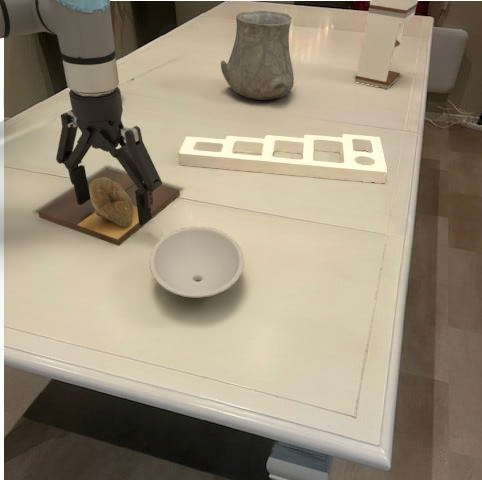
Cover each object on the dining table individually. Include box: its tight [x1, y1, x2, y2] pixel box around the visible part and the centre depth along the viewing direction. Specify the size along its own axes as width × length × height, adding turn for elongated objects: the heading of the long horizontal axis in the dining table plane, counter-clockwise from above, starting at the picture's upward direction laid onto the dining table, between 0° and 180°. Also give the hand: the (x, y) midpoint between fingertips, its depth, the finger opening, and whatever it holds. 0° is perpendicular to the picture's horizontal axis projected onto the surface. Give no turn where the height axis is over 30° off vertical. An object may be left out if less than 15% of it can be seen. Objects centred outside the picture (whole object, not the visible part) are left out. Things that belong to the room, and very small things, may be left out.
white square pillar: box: [354, 0, 419, 90], centre depth 141 cm, size 11×11×35 cm
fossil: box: [89, 177, 133, 226], centre depth 86 cm, size 9×4×10 cm
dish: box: [148, 225, 245, 299], centre depth 75 cm, size 18×14×5 cm
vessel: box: [220, 10, 295, 101], centre depth 133 cm, size 22×22×20 cm
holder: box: [178, 133, 388, 184], centre depth 111 cm, size 45×18×3 cm, turn 83°
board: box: [37, 167, 181, 246], centre depth 92 cm, size 18×20×1 cm
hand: (114, 211), depth 87 cm, fingers open, 13 cm apart
